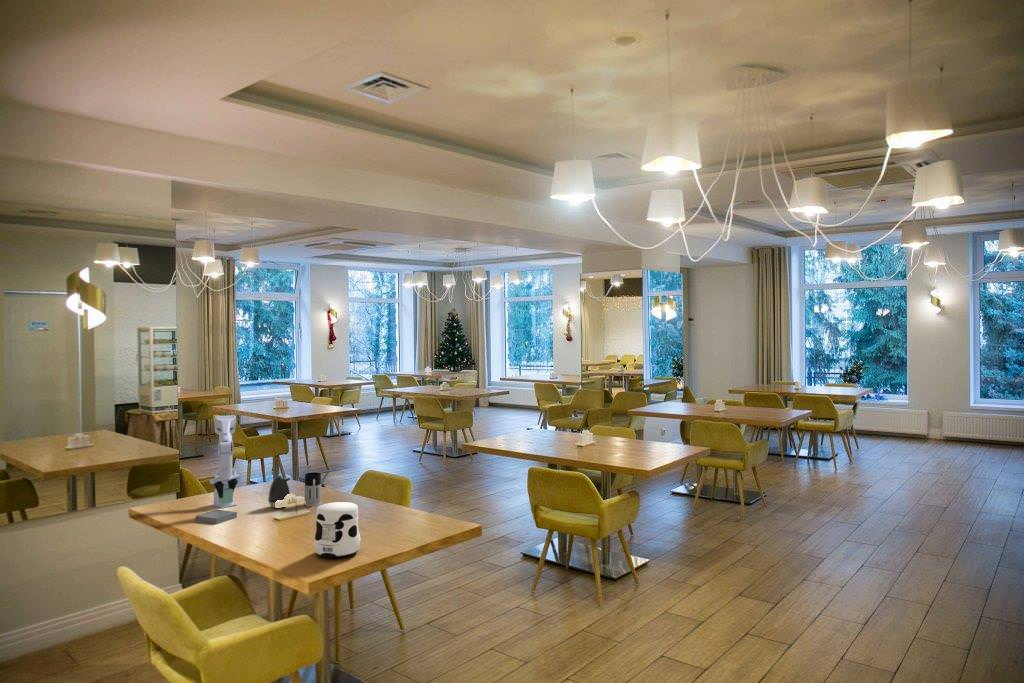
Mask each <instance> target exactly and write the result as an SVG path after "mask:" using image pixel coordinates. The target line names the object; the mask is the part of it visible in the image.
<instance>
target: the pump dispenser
mask: <svg viewBox="0 0 1024 683" xmlns="http://www.w3.org/2000/svg"><path fill="white" fill-rule="evenodd" d="M288 481H291V477H288V478H285V476H282V475H277V476H276V477H274V479H273V480H272V483H271V484H270V487H269V493H268V502H269V505H270V507H271V508H273V509H275V508H274V507H275V502H276V501H277V500H283V499H284V497H285V496H286V495H287V494H290V495H291V491H290V487H289V486H290V485H289V483H288Z"/></svg>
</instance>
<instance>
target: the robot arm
mask: <svg viewBox="0 0 1024 683" xmlns="http://www.w3.org/2000/svg"><path fill="white" fill-rule="evenodd" d="M236 418H237V417H236V415H235V414H231V415H215V416H214V425H213V426H214V427H213V428H214V433H215V434H216V435H218V443H217V453H218V468H217V469H216V470H215V472H214V478H210V479H209V484H210V485H213V486H214V490H213V503H212V504H211V506H214V507H217V508H221V509H224V508H228V507H234V506H238V503H234V501H233V502H230V503H225V504H223V503H219V502H218V496H219V498H223V488H230V489H233V493H234V492H235V489H236V487H237V485H238V483H239V480H240V479H242V474H237V470H236V469H235V468H233V454H234V441H233V435H232V434H234V433H236V426H237V419H236Z"/></svg>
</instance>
